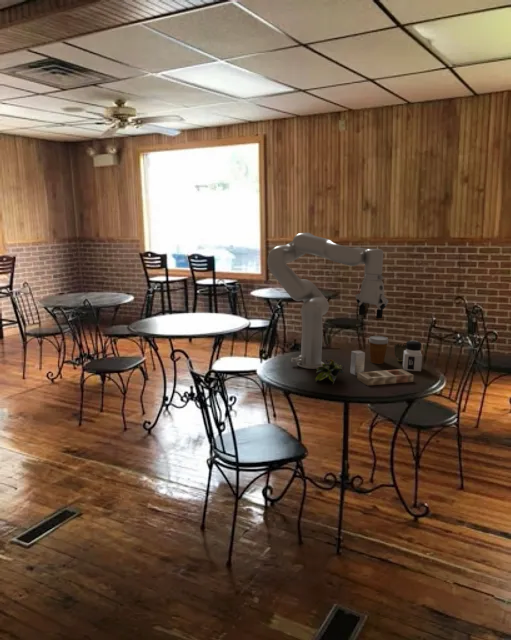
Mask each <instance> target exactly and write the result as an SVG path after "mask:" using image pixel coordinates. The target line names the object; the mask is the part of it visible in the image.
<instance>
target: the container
mask: <svg viewBox="0 0 511 640" xmlns="http://www.w3.org/2000/svg"><path fill="white" fill-rule="evenodd" d="M405 345H406V350H404V354H403V362H402V368H403V370H405V371H408V372H421V371H422V365H423V354H422V351H421V350H422V343H421V342H420V341H418V340H407V341H406V344H405Z"/></svg>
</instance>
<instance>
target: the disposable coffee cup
mask: <svg viewBox="0 0 511 640" xmlns="http://www.w3.org/2000/svg"><path fill="white" fill-rule="evenodd" d="M368 343H369V345H368V346H369V357H370V358H369V359H370V363H373V364H378V365H380V364H384V362H385V358H386V354H387V353H386V351H387V348H388V344H389V338H388V337H386V336H382V335H373V336H372V335H371V336H369V339H368Z"/></svg>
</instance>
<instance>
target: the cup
mask: <svg viewBox="0 0 511 640" xmlns="http://www.w3.org/2000/svg"><path fill="white" fill-rule="evenodd" d="M393 347H394V356H395V358H397V362H399V363H403V354H404V350H406V344H402V343H401V344H399V343H396V344H395V345H394V346H393Z"/></svg>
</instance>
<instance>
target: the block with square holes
mask: <svg viewBox="0 0 511 640" xmlns="http://www.w3.org/2000/svg"><path fill="white" fill-rule="evenodd" d="M414 376H415V375H414V374H412V373H411V372H410V371H408V370H404V369H402V368H398V369H388V370H387V369H385V370H384V369H383V370H374V371H373V370H372V371H364V372H357V375H356V380H357V381H359V382H361V383H362V384H364V385H366V386H377V385H389V384H390V385H392V384H401V383H403V384H404V383H412V382H414Z"/></svg>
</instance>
